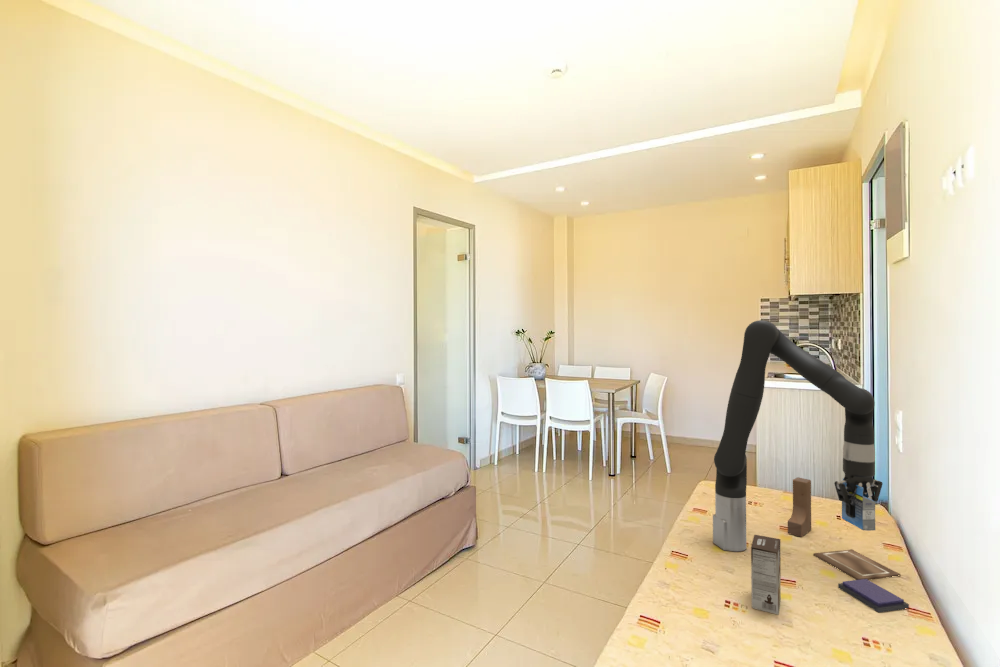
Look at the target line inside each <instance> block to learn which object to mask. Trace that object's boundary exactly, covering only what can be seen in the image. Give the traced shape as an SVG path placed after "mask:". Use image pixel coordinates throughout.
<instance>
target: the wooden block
mask: <svg viewBox="0 0 1000 667" xmlns="http://www.w3.org/2000/svg"><path fill="white" fill-rule="evenodd" d="M811 531H812V480H811V479H807V478H802V477H800V476H798V477H796V478H794V479H792V512H791V516H790V517H789V519H788V520H787V533H788V534H790V535H792V536H797V537H800V538H802V537H803V536H806V535H807V534H809V532H811Z"/></svg>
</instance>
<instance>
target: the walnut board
mask: <svg viewBox="0 0 1000 667" xmlns="http://www.w3.org/2000/svg"><path fill="white" fill-rule="evenodd" d="M813 556H814V557H816V558H817V557H818V558H817V559H819V560H821V561H822V562H825V563H826V562H827V563H826V564H828V563H829V564H828V565H830V564H831V565H832V566H831V565H830V566H831V567H833V566H834V567H833V568H835V567H836V568H835V569H837V568H838V569H839V570H838V569H837V570H838V571H840V570H841V571H840V572H842V573H844V574H845V573H846V574H845V575H847V576H849V577H851V578H852V579H853V580H861V579H867V580H869V581H871V579H872V580H878V579H887V578H886V577H889V578H893V577H892V576H898V575H900V576H901V573H900V572H899V573H898V572H897V571H895V570H893V569H892V568H889V567H888V566H885V565H883V564H881V563H880V562H877V561H876V560H874V559H871V558H870V557H867V555H863V554H862V553H860V552H859V551H855V550H854V549H842V550H833V551H824V552H821V551H820V552H813ZM898 577H899V576H898Z"/></svg>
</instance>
